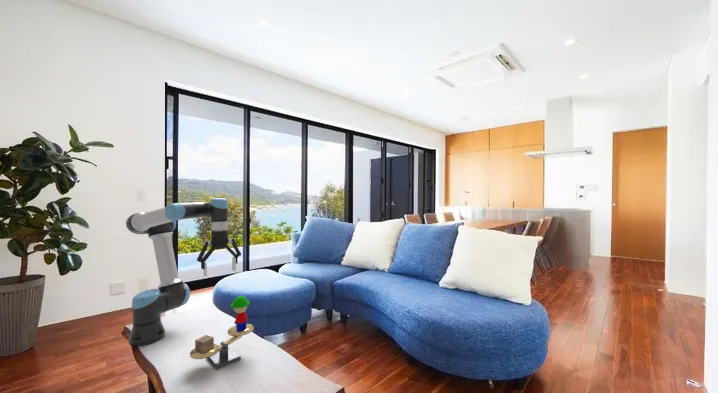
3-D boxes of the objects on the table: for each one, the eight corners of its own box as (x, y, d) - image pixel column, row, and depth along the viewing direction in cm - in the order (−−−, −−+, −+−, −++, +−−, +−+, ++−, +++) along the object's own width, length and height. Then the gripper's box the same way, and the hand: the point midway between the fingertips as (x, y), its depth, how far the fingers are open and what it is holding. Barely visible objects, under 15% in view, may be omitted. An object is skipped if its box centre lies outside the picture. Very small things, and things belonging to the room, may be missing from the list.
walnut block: (195, 351, 129) (195, 339, 129) (206, 346, 133) (205, 334, 133) (203, 354, 126) (203, 342, 126) (213, 348, 131) (213, 337, 131)
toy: (245, 323, 146) (244, 292, 146) (252, 328, 140) (252, 296, 140) (228, 329, 140) (227, 296, 140) (235, 334, 135) (234, 300, 134)
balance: (186, 365, 131) (186, 340, 130) (247, 343, 149) (247, 321, 148) (195, 377, 122) (194, 350, 122) (258, 352, 140) (258, 329, 140)
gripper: (193, 233, 139) (194, 279, 140) (247, 228, 156) (248, 269, 157) (189, 231, 145) (189, 276, 145) (241, 227, 161) (242, 267, 162)
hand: (220, 273), depth 151 cm, fingers open, 13 cm apart
